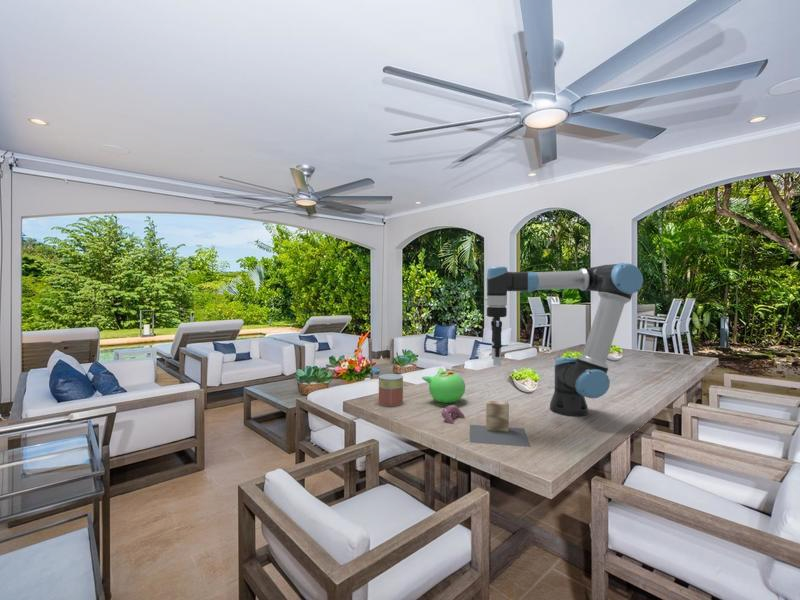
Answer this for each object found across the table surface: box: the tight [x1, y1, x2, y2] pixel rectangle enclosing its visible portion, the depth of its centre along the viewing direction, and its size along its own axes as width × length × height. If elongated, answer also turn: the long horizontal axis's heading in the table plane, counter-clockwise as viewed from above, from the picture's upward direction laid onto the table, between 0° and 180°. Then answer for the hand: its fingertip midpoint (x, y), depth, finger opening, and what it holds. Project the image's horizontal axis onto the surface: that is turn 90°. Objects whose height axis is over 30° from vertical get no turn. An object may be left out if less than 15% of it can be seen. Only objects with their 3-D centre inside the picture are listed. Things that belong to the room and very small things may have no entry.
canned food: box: [378, 373, 404, 407], centre depth 179 cm, size 11×11×12 cm
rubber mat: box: [469, 424, 532, 448], centre depth 139 cm, size 20×17×1 cm
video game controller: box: [441, 404, 465, 425], centre depth 155 cm, size 10×5×7 cm, turn 141°
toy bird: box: [421, 367, 466, 404], centre depth 180 cm, size 18×17×15 cm
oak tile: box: [485, 400, 510, 432], centre depth 144 cm, size 8×3×10 cm, turn 80°
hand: (496, 362), depth 152 cm, fingers open, 12 cm apart
